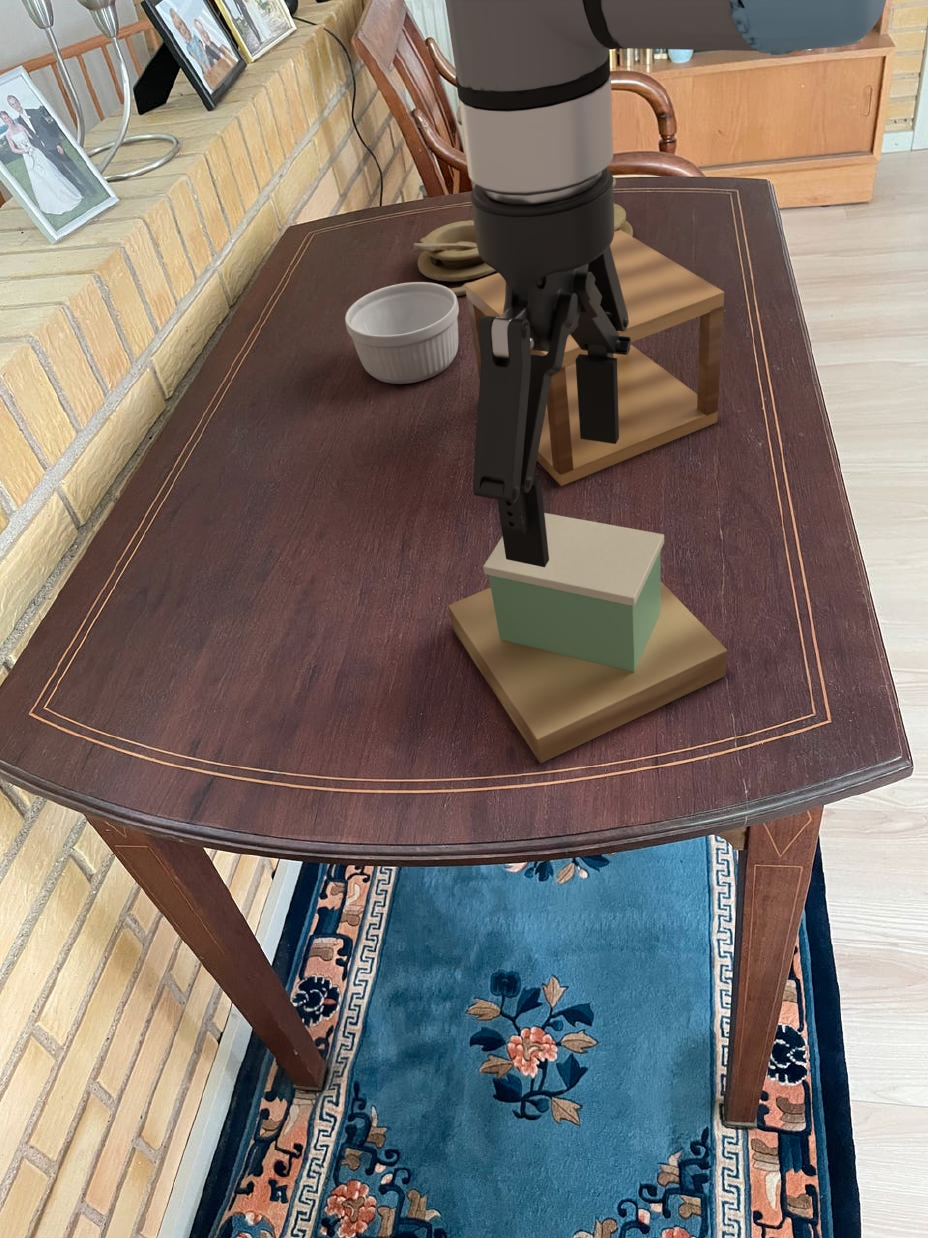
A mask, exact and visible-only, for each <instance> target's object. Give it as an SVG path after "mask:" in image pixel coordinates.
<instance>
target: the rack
mask: <svg viewBox="0 0 928 1238" xmlns="http://www.w3.org/2000/svg"><path fill="white" fill-rule="evenodd" d="M610 248H611V252H612V255H613V259H614V263H615V267H616V271H617V275H618V279H619V282H620V286H621V290H622V294H623V298H624V302H625V306H626V309H627V313H628V319H629V324H628V326H627V329H626V331H625V332H623V331H618V335H619V336H624V337H630V339H631V343H634V342H636V341H638V340H641V339H644V338H646V337H649V336H652V335H654V334H657V333H660V332H662V331H665V330H667V329H670V328H672V327H675V326H677V325H680V324H683V323H685V322H688V321H691V320H693V319H696V318H698V317H699V338H698V339H699V340H698V341H699V342H698V346H699V347H698V367H697V368H698V369H697V370H698V371H697V393H696V392H695V391H694V390H692V389H691V388H689V387H688V386H687V385H686V384H684V383H683V382H682V381H680V379H677V378H676V377H675V376H674V375H672V374H671V373H670V372H668V371H667V370H666V369H664V367H662V366H660V365H659V364H657V362H655V361H654V360H653V359H651V358H650V357H648V355H645V353H644V352H642V351H640V350H639V349H638V348H636V347H635V346H633V345H632V344H631V346H630V350H629V353H628V354H627V355H622V354H613V358H617V378H618V415H619V439H618V441H617V443H616V444H612V443H605V442H599V441H592V440H585V439H580V424H579V408H578V392H577V376H576V358H577V357H578V355H579V354H584V355H588V351H585V350H582V349H581V348H580V347H579V346H578V344H577V343H576V342H575V340H574V339H573V338H572V336H571V335H570V334H569V336H568V338H567V341H566V347H565V352H564V358H563V363H562V367H561V370H560V371H559V372H558V373H556V374H554V375H553V376H552V378H551V384H550V389H549V395H548V400H547V406H546V411H545V417H544V422H543V428H542V433H541V439H540V444H539V450H538V456H537V461H536V462H538V463H539V465H541V467H542V468H543V469H544V470H545V471H546V472H547V473H548V474H549V475H550V476H551V477H552V478H553V479H554V481H556V483H558V484H559V486H561V487H563V486H565V485H568V484H570V483H573V482H575V481H578V480H580V479H583V478H585V477H588V476H590V475H592V474H595V473H597V472H599V471H602V470H605V469H607V468H610V467H613V466H614V465H617V464H620V463H622V462H624V461H626V460H629V459H631V458H634V457H636V456H638V455H641V454H644V453H645V452H646V453H647V452H648V451H650V450H653V449H656V448H658V447H660V446H663V445H665V444H668V443H670V442H673V441H675V440H678V439H681V438H682V437H685V436H687V435H690V434H692V433H695V432H697V431H699V430H702V429H704V428H707V427H709V426H711V425H714V424H717V423H718V419H719V418H718V415H719V398H720V397H719V395H720V376H721V361H722V340H723V339H722V338H723V321H724V305H725V304H724V302H725V291H724V290H721V289H720V288H718V287H717V286H716V285H714V284H712V283H710V282H708V281H707V280H706V279H703V278H702V277H700V276H699V275H698V274H697V275H696V274H695V273H693V272H691V270H689V269H687V268H686V267H683V266H682V265H680V264H678V263H677V262H675V261H674V260H672V259H670V258H668V257H667V256H665V255H663V254H662V253H660V252H659V251H657V250H655V249H654V248H651V247H650V246H649V245H647V244H645V243H643V242H642V241H640V240H638V239H637V238H635V237H633V235H632V236H630V235H628V234H627V233H625V232H623V231H622V230H618V231H615V232H614V237H613V240H612V243H611V244H610ZM467 283H468V284H465V283H464V284H465V289H466V295H465V296H466V301H467V308H468V314H469V319H470V320H469V321H470V328H471V333H472V339H473V345H474V352H475V358H476V365H477V371H478V377H479V379H480V372H481V354H480V342H479V322H480V320H481V318H482V316H494V317H500V316H501V315H502V314H503V309H504V303H505V286H506V281H505V279H504V278H503V277H502V276H501V275H500V274H499V273H498V272H497V273H494V274H490V275H487V276H485V277H483V278H482V277H481V278H480V279H477V280H474V281H471V283H469V282H467ZM547 353H548V352H546V351H537V350H531V355H539V356H545V355H546V354H547Z"/></svg>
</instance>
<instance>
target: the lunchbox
mask: <svg viewBox="0 0 928 1238" xmlns="http://www.w3.org/2000/svg"><path fill="white" fill-rule="evenodd" d="M544 514H545V524H546V533H547V543H548V553H549V561H548V563H547V565H546V566H545V567H540V566H535V565H531V564H526V563H521V562H517V561H512V560H507V559H506V555H505V549H504V542H503V535H502V536H501V538H500V539H499V541H498V542H497V544H496V546H495V547H494V549H493V550H492V552H491V553H490V555H489V557H488V558H487V560H486V561H485V563H484V564H483V566H482V569H483V574H484V575H488V580H489V586H490V587H491V592H492V598H493V603H494V609H495V614H496V620H497V626H498V631H499V637H500V640H504V641H508V642H512V643H516V644H520V645H524V646H528V647H533V648H537V649H541V650H545V651H549V652H553V653H557V654H561V655H565V656H569V657H573V658H577V659H582V660H586V661H590V662H594V663H598V664H602V665H606V666H610V667H614V668H618V669H622V670H626V671H630V672H635V670H636V667H637V665H638V663H639V661H640V658H641V656H642V654H643V652H644V649H645V647H646V645H647V642H648V640H649V638H650V636H651V633H652V631H653V629H654V627H655V624H656V622H657V620H658V618H659V615H660V613H661V582H662V579H661V577H662V575H661V574H662V573H661V570H662V569H661V567H662V564H661V561H662V560H661V559H662V556H661V555H662V549H663V547H664V543H665V534H663V533H659V532H654V531H653V532H652V531H647V530H641V529H635V528H630V527H624V526H619V525H613V524H608V523H603V522H597V521H591V520H587V519H581V518H574V517H569V516H563V515H558V514H553V513H547V512H544ZM490 587H489V588H490Z"/></svg>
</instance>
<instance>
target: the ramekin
mask: <svg viewBox="0 0 928 1238" xmlns="http://www.w3.org/2000/svg"><path fill="white" fill-rule="evenodd" d="M450 289H451V288H449V287H447V286H445V285H442V284H438V283H434V282H426V281H413V282H404V283H403V282H402V283H397V284H393V285H388V286H385V287H381V288H379V289H376V290H373V291H371V292H369V293H368V294H365V295H364V296H362V297H360V298H359V299H358V300H356V301H355V302H354V303H352V305H351V306H349V308H348V309H347V311H346V313H345V317H344V322H345V327H346V330H347V333H348V335H349V336H350V338H351V340H352V342H353V344H354V348H355V350H356V353H357V355H358V358H359V360H360V363H361V365H362V367H363V368H364V370H365V371H366V372H367V373H368V374H369V375H370V376H372V377H373V378H374V379H376V380H378V381H379V382H382V383H386V384H394V385H396V384H397V385H405V384H413V383H419V382H423V381H426V380H428V379H431V378H433V377H435V376H437V375H439V374H441V373H442V372H444V371H445V370H446V369H447V368H448V367H449V366H450V365H451V364H452V362H453V361H454V359H455V357H456V356H457V354H458V349H459V321H458V316H459V312H460V309H459V307H460V306H459V301H458V296H456V295H455V294H454V292H453V291H452V290H450Z"/></svg>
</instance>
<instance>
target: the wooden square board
mask: <svg viewBox="0 0 928 1238" xmlns="http://www.w3.org/2000/svg"><path fill="white" fill-rule="evenodd" d="M447 608H448V612H449V617H450V621H451V626H452V630H453V631H454V634H455V635H456V636H457V638H458V639H459V641H460V643H461V644H462V646H463V648H464V649H465V650H466V652H467V653H468V655H469V656H470V658H471V659H472V661H473V662H474V664H475V665H476V667H477V669H478V670H479V672H480V673H481V674H482V676H483V677H484V679H485V681H486V683H487V684H488V686H489V687H490V689H491V690H492V692H493V693H494V694H495V697H496V698H497V699H498V701H499V702H500V704H501V705H502V707H503V708H504V710H505V712H506V713H507V715H508V716H509V717H510V719H511V721H512V722H513V724H514V725H515V727H516V728H517V730H518V732H519V733H520V735H521V736H522V737H523V739H524V740H525V742H526V744H527V745H528V747H529V748H530V750H531V752H532V753H533V754H534V756H535V757H536V759H537V761H538V762H539V763H540V764H543V763H546V762H548V761H549V760H551V759H553V758H555V757H558V756H560V755H562V754H565V753H566V752H568V751H570V750H573V749H575V748H577V747H579V746H581V745H583V744H585V743H587V742H589V741H591V740H593V739H596V738H598V737H601V736H602V735H604V734H606V733H608V732H611V731H612V730H615V729H617V728H619V727H622V726H623V725H626V724H627V723H629V722H632V721H633V720H636V719H638V718H640V717H642V716H644V715H646V714H648V713H651V712H652V711H655V710H657V709H659V708H662V707H663V706H665V705H668V704H669V703H672V702H674V701H676V700H678V699H680V698H682V697H684V696H686V695H689V694H691V693H693V692H695V691H698V690H699V689H701V688H703V687H705V686H708V685H709V684H711V683H713V682H716V681H718V680H720V679H722V678H725V677H726V671H727V670H726V669H727V658H728V657H727V656H728V650H727V649H726V648H725V646H724V645H723V644H722V643H721V642H719V640H718V639H717V638H716V637H715V636H714V635H713V634H712V633H711V632H710V631H709V630H708V629H707V628H706V626H704V624H703V623H702V622H701V621H700V620H699V619H697V617H696V616H695V615H694V614H693V613H692V612H691V611H690V610H689V609H688V608H687V607H686V606H685V605H684V604H683V603H682V602H681V601H680V600H679V599H678V598H677V596H676V595H675V594H674V593H673V592H672V591H671V590H670V589H669V588H668V587H667V586H666V585H665V584H664V583H663V582H662V581H661V613H660V615H659V618H658V620H657V622H656V624H655V627H654V629H653V631H652V633H651V636H650V638H649V640H648V642H647V645H646V647H645V649H644V652H643V654H642V656H641V658H640V661H639V663H638V665H637V667H636V670H635V672H630V671H626V670H622V669H618V668H614V667H610V666H606V665H602V664H598V663H594V662H590V661H586V660H582V659H577V658H573V657H569V656H565V655H561V654H557V653H553V652H549V651H545V650H541V649H537V648H533V647H528V646H524V645H520V644H516V643H512V642H508V641H504V640H500V637H499V631H498V626H497V620H496V614H495V609H494V603H493V598H492V592H491V587H488V588H485V589H483V590H481V591H478V592H476V593H474V594H471V595H468V596H466V597H465V598H462V599H459V600H458V601H455V602H453V603H450V604H449V605H447Z"/></svg>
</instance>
